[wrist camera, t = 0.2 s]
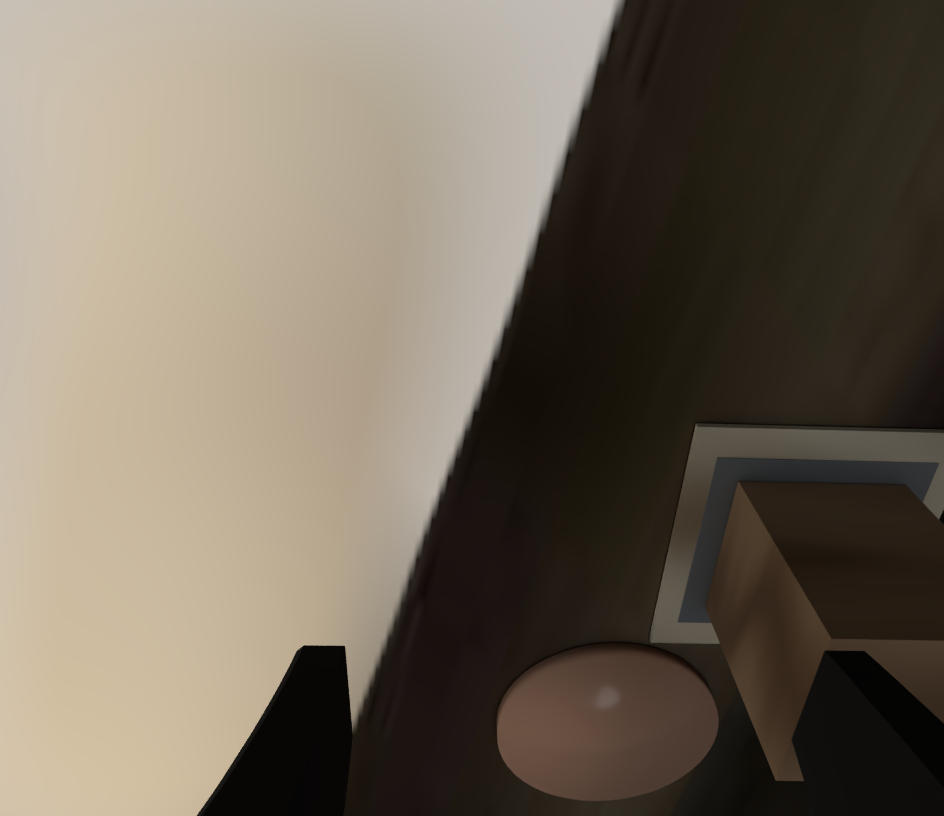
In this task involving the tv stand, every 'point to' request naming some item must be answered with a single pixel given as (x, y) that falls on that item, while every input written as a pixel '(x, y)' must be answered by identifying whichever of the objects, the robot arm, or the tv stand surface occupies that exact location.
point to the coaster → (606, 722)
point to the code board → (774, 460)
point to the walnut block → (826, 596)
